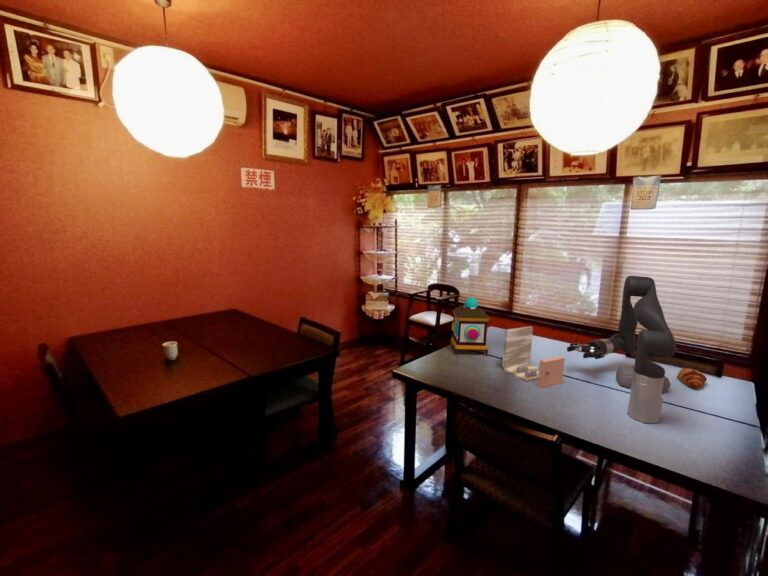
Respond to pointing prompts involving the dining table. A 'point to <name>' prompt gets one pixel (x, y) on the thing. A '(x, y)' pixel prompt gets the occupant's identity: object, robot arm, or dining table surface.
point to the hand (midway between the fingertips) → (575, 352)
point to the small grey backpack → (626, 375)
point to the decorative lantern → (469, 327)
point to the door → (550, 372)
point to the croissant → (692, 378)
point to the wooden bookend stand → (519, 354)
